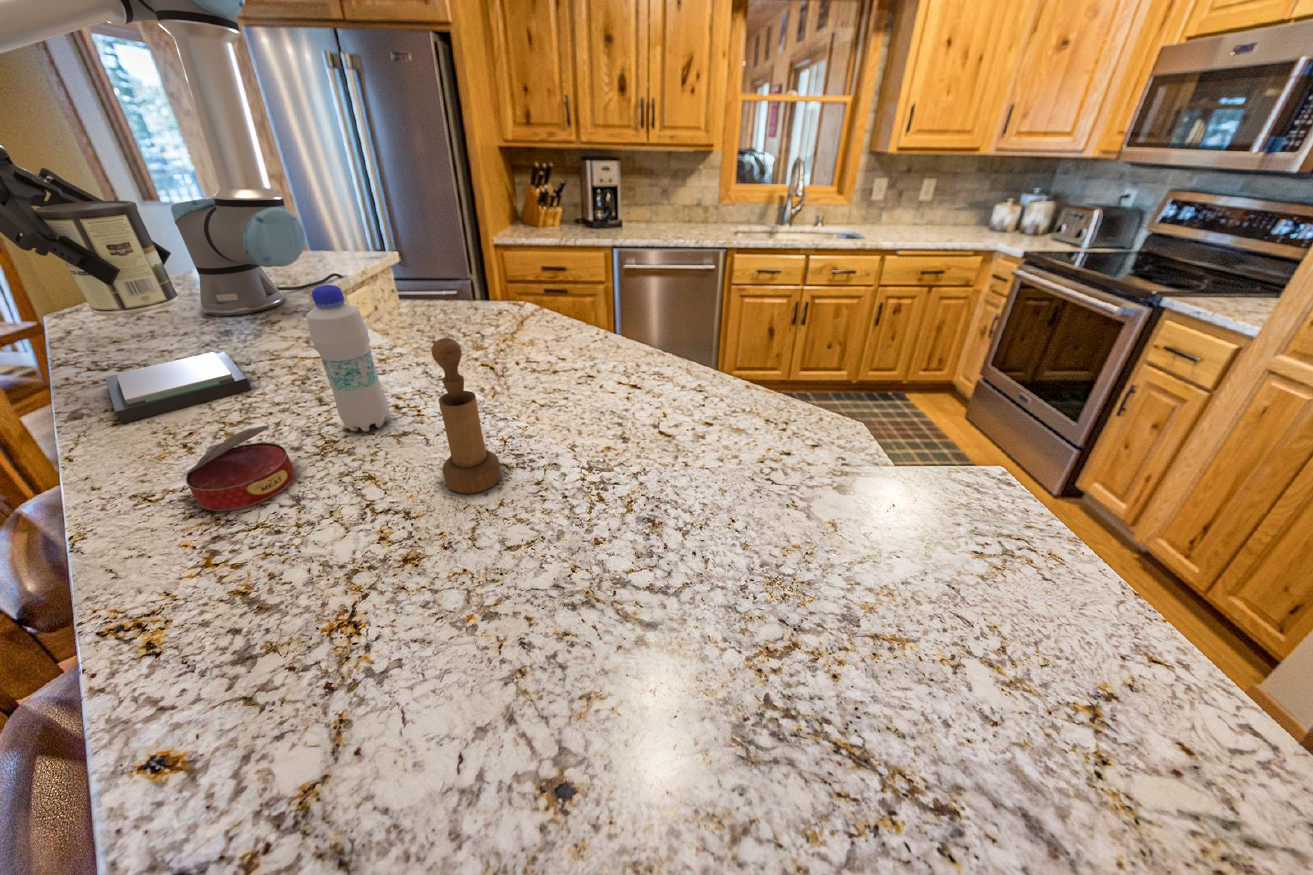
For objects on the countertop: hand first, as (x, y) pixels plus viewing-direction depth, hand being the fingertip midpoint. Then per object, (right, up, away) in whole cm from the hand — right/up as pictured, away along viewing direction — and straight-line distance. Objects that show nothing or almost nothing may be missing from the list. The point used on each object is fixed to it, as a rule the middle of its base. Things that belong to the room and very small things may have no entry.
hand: (141, 268), depth 78 cm
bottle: (+34, -23, -1) cm, 41 cm away
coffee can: (-3, -5, +3) cm, 6 cm away
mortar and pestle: (+53, -30, -12) cm, 62 cm away
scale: (-1, -17, +8) cm, 19 cm away
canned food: (+26, -31, -14) cm, 43 cm away
